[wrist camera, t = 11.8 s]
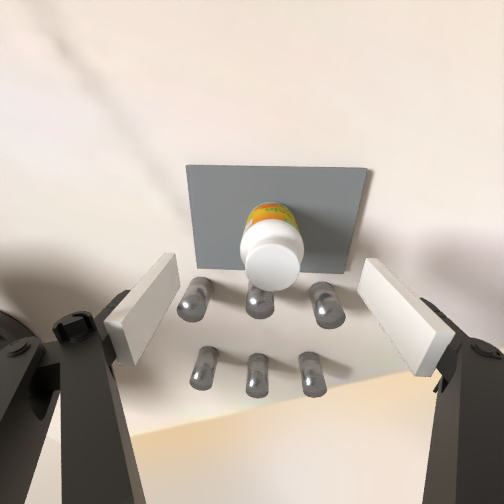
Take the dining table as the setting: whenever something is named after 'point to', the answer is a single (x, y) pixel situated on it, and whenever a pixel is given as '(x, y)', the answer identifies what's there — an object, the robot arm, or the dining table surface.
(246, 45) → the dining table surface
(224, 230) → the slate mat
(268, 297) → the spacer field
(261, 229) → the supplement bottle
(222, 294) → the dining table surface
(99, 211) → the dining table surface
